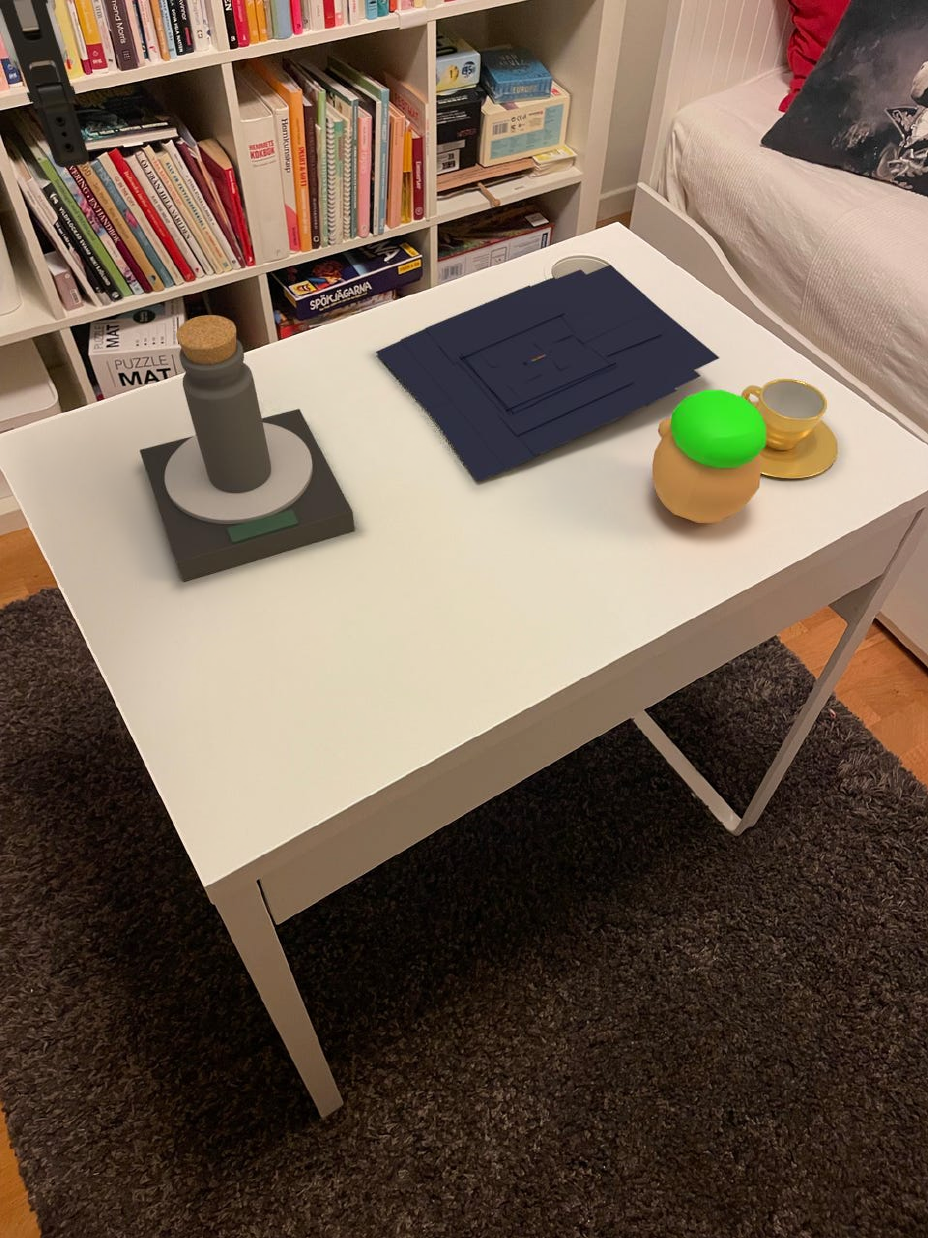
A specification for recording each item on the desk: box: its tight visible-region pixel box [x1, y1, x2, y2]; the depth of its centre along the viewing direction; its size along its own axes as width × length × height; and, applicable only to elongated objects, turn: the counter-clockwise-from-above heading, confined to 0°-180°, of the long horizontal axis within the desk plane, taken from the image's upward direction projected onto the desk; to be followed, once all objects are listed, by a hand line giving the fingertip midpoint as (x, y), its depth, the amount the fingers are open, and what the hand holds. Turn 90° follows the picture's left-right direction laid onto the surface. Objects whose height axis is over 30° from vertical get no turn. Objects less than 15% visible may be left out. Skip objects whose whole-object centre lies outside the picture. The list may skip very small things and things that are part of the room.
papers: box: [375, 264, 720, 482], centre depth 97 cm, size 24×30×4 cm
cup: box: [740, 378, 839, 479], centre depth 89 cm, size 12×12×5 cm
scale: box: [139, 408, 355, 582], centre depth 84 cm, size 16×16×3 cm
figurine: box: [651, 389, 766, 524], centre depth 81 cm, size 11×10×12 cm
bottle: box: [175, 314, 271, 493], centre depth 77 cm, size 6×6×15 cm
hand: (63, 136), depth 61 cm, fingers open, 8 cm apart
